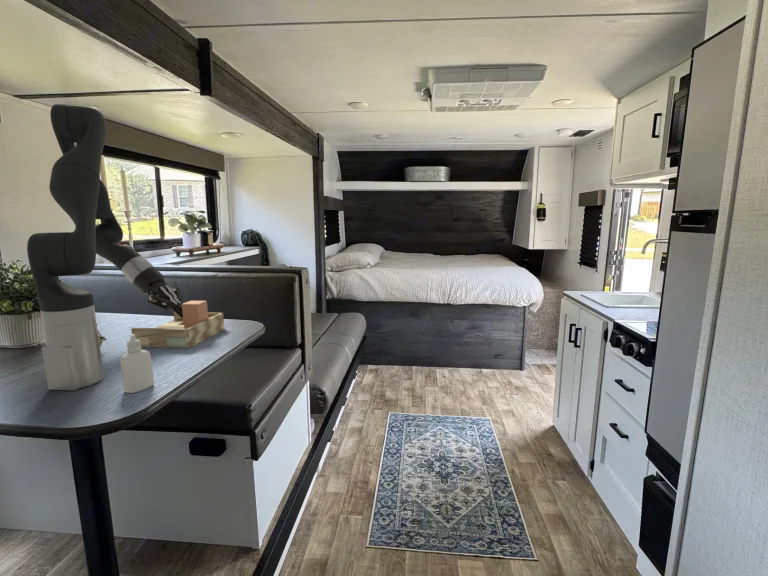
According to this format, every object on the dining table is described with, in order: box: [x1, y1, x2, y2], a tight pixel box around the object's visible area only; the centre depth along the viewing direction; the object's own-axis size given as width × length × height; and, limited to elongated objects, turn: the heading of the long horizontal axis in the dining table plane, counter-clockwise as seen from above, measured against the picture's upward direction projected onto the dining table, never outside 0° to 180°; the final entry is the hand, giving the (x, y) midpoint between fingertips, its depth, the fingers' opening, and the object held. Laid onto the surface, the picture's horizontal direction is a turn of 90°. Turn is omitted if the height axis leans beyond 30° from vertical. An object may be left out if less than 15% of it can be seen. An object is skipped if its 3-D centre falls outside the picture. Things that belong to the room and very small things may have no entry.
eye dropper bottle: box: [119, 334, 155, 394], centre depth 85 cm, size 4×6×12 cm
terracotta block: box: [181, 300, 209, 329], centre depth 121 cm, size 5×5×8 cm
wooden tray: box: [131, 311, 225, 350], centre depth 122 cm, size 20×17×6 cm
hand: (185, 315), depth 121 cm, fingers closed
